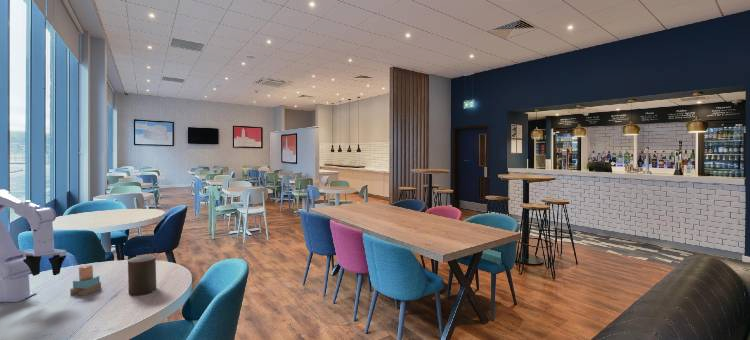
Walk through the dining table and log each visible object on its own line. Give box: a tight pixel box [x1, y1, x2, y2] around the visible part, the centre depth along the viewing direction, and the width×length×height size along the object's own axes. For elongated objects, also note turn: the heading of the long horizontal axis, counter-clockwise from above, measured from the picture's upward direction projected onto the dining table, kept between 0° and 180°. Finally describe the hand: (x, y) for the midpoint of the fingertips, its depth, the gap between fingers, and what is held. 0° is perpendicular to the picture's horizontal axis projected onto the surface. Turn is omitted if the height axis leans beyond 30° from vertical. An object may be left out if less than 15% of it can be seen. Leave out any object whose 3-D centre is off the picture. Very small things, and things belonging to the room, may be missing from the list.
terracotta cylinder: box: [78, 264, 94, 281], centre depth 146 cm, size 4×4×5 cm
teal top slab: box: [72, 275, 101, 288], centre depth 147 cm, size 6×6×3 cm
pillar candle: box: [127, 255, 157, 296], centre depth 147 cm, size 10×10×15 cm
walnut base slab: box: [69, 281, 102, 296], centre depth 147 cm, size 7×7×3 cm
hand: (46, 274), depth 137 cm, fingers open, 7 cm apart
